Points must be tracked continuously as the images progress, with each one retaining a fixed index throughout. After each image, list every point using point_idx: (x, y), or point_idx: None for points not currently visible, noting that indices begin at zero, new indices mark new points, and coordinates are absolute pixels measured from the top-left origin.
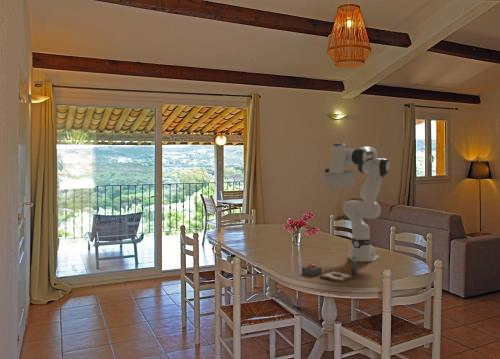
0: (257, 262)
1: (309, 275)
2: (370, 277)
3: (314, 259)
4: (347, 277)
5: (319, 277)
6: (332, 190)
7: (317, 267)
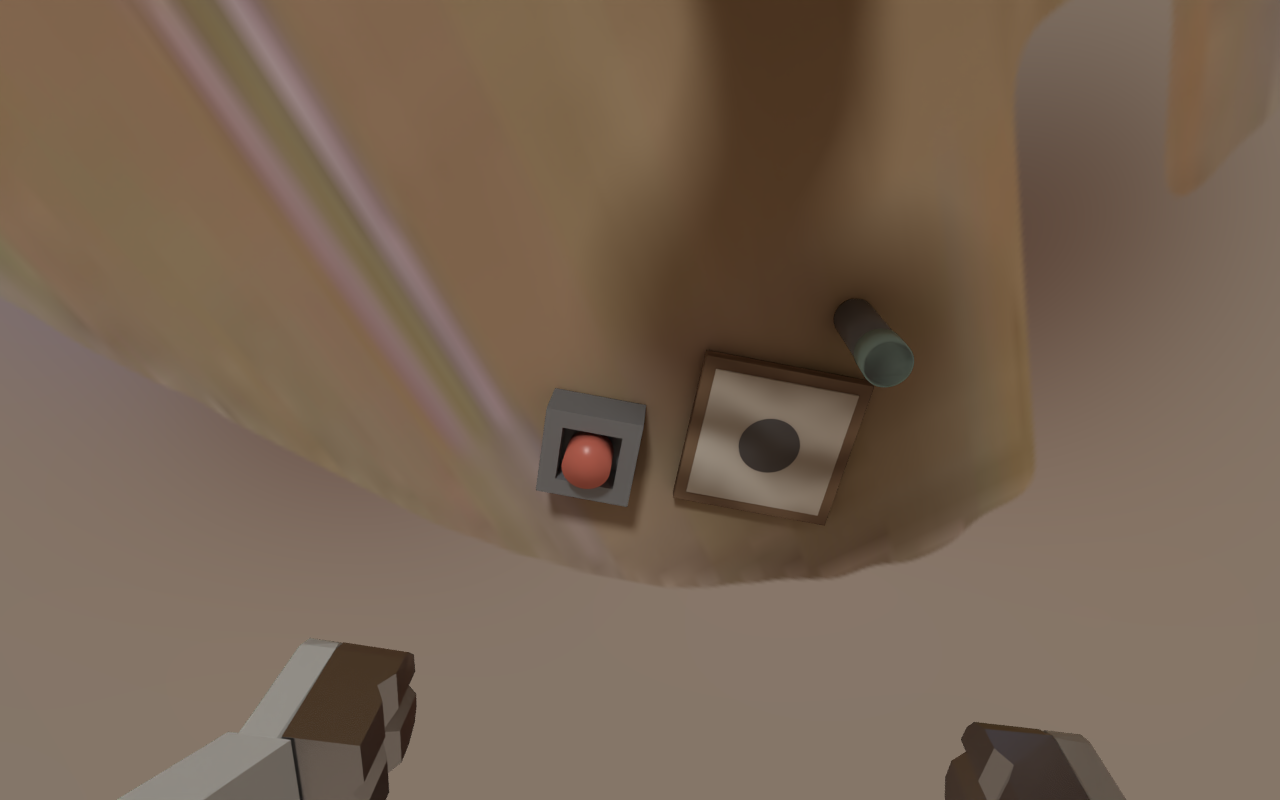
0: (142, 370)
1: None
2: (972, 308)
3: (392, 7)
4: (841, 449)
5: (673, 491)
6: (380, 729)
7: (626, 452)
